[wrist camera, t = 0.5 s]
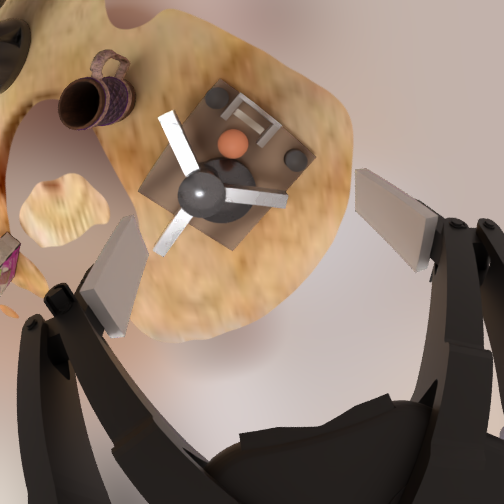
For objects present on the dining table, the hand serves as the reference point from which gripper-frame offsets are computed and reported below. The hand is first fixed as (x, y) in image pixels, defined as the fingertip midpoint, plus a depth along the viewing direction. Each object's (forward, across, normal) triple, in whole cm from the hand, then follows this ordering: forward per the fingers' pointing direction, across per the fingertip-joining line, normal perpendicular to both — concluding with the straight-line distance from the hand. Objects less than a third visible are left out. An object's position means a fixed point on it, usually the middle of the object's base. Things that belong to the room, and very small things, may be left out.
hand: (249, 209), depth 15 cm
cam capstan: (+24, -6, -6) cm, 25 cm away
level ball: (+24, 0, 0) cm, 24 cm away
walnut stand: (+26, -1, -4) cm, 26 cm away
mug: (+26, -14, +12) cm, 32 cm away
